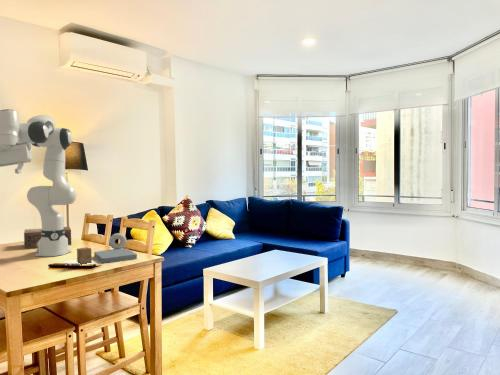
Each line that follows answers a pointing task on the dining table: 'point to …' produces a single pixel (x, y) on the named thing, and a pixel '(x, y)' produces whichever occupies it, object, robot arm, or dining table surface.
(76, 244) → the dining table surface
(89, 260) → the walnut block
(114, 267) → the dining table surface
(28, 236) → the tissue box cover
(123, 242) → the donut
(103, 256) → the base board
